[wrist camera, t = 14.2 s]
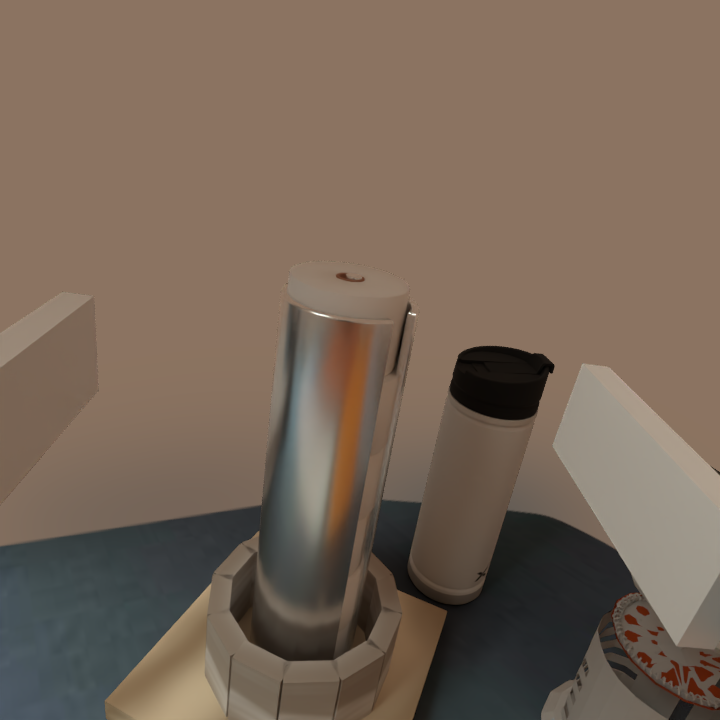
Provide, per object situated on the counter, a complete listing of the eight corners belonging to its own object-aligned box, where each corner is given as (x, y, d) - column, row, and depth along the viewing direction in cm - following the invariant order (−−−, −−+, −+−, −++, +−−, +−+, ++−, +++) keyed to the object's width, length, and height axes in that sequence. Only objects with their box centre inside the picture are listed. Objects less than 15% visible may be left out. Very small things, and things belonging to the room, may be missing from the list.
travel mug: (496, 607, 43) (573, 379, 35) (415, 606, 41) (475, 371, 33) (472, 548, 48) (533, 341, 40) (400, 547, 47) (448, 333, 39)
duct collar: (106, 718, 31) (100, 638, 28) (257, 545, 45) (263, 480, 42) (363, 873, 26) (384, 794, 24) (443, 625, 40) (462, 559, 38)
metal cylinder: (259, 713, 31) (304, 296, 21) (240, 619, 36) (269, 252, 26) (364, 685, 33) (449, 300, 23) (332, 601, 39) (390, 259, 29)
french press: (509, 697, 36) (642, 350, 26) (640, 659, 40) (798, 349, 30) (620, 880, 27) (877, 474, 18) (770, 808, 32) (1047, 449, 22)
